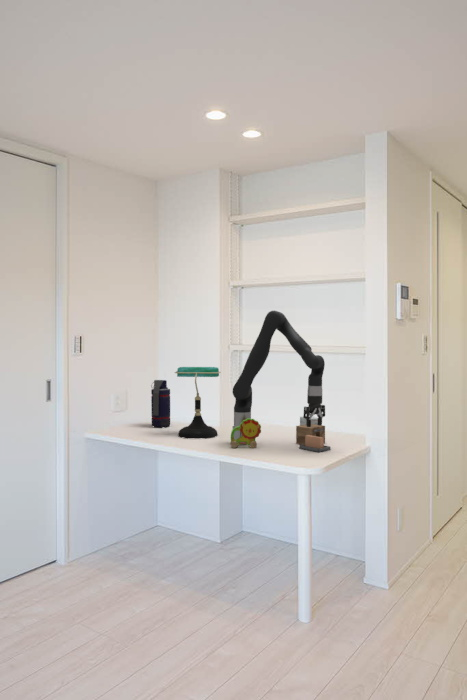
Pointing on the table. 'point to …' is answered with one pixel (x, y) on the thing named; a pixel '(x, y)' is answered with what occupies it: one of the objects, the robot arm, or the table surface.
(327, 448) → the tray
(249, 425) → the toy lion
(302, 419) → the ink box
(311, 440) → the tan rectangular block
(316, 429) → the cardboard shipping carton
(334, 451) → the table surface
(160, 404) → the grenade
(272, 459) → the table surface
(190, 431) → the banker's lamp
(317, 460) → the table surface
